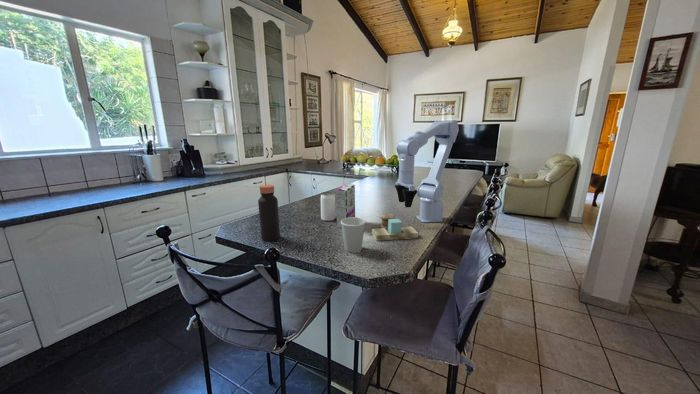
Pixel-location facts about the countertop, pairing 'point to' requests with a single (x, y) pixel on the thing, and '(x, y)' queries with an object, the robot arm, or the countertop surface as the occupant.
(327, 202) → the can
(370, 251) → the countertop surface
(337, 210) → the candy bar box
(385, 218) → the spool
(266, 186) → the bottle
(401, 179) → the robot arm
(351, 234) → the dixie cup
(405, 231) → the notch board
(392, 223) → the pale teal block
